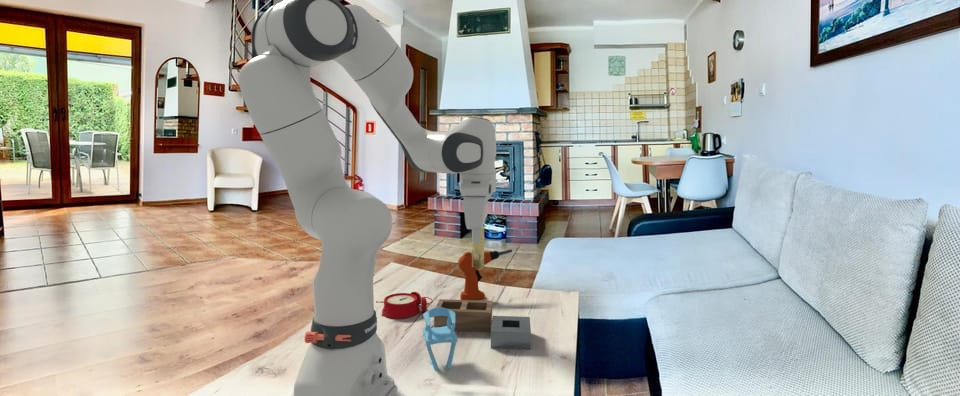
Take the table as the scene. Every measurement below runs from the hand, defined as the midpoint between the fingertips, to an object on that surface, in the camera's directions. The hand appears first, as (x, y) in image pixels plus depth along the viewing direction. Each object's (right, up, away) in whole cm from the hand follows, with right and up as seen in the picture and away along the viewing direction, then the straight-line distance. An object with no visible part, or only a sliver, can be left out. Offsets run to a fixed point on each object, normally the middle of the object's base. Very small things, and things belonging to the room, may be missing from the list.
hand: (477, 240), depth 111 cm
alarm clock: (-20, -22, +15) cm, 33 cm away
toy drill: (+2, -20, +27) cm, 34 cm away
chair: (-8, -26, -15) cm, 31 cm away
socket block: (+8, -24, -5) cm, 26 cm away
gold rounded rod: (0, -7, +1) cm, 7 cm away
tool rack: (-3, -23, +4) cm, 23 cm away
